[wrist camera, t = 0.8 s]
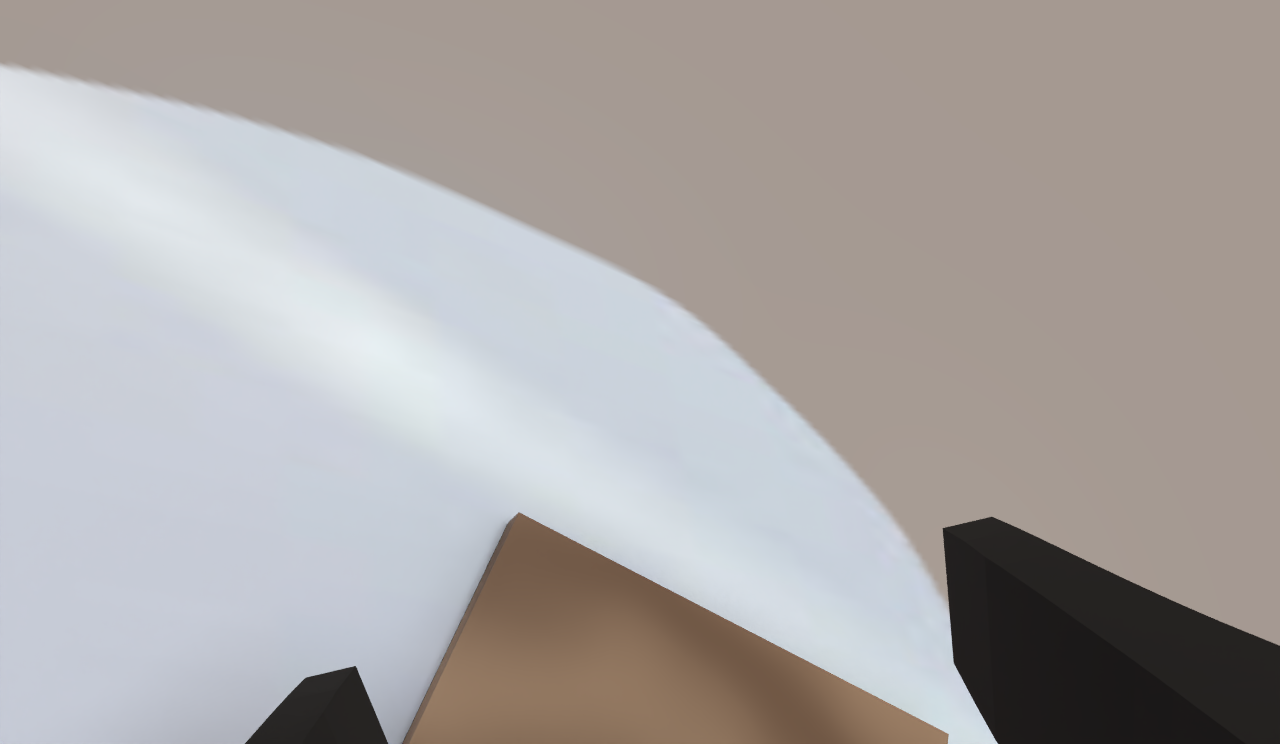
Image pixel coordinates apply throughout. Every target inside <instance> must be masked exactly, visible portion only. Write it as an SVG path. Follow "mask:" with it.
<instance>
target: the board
mask: <svg viewBox="0 0 1280 744" xmlns="http://www.w3.org/2000/svg"><path fill="white" fill-rule="evenodd" d="M948 735H949V734H947V733H945V732H943V731H941V730H939V729H937V728H936V727H934V726H932V725H930V724H928V723H926V722H924V721H922V720H920V719H918V718H916V717H914V716H912V715H910V714H908V713H906V712H905V711H903V710H901V709H899V708H897V707H895V706H893V705H891V704H889V703H887V702H885V701H883V700H881V699H879V698H877V697H875V696H874V695H872V694H870V693H868V692H866V691H864V690H862V689H860V688H858V687H856V686H854V685H852V684H850V683H848V682H846V681H844V680H843V679H841V678H839V677H837V676H835V675H833V674H831V673H829V672H827V671H825V670H823V669H821V668H819V667H817V666H815V665H813V664H812V663H810V662H808V661H806V660H804V659H802V658H800V657H798V656H796V655H794V654H792V653H790V652H788V651H786V650H784V649H782V648H781V647H779V646H777V645H775V644H773V643H771V642H769V641H767V640H765V639H763V638H761V637H759V636H757V635H755V634H753V633H751V632H750V631H748V630H746V629H744V628H742V627H740V626H738V625H736V624H734V623H732V622H730V621H728V620H726V619H724V618H722V617H720V616H719V615H717V614H715V613H713V612H711V611H709V610H707V609H705V608H703V607H701V606H699V605H697V604H695V603H693V602H691V601H690V600H688V599H686V598H684V597H682V596H680V595H678V594H676V593H674V592H672V591H670V590H668V589H666V588H664V587H662V586H660V585H659V584H657V583H655V582H653V581H651V580H649V579H647V578H645V577H643V576H641V575H639V574H637V573H635V572H633V571H631V570H629V569H628V568H626V567H624V566H622V565H620V564H618V563H616V562H614V561H612V560H610V559H608V558H606V557H604V556H602V555H600V554H598V553H597V552H595V551H593V550H591V549H589V548H587V547H585V546H583V545H581V544H579V543H577V542H575V541H573V540H571V539H569V538H567V537H566V536H564V535H562V534H560V533H558V532H556V531H554V530H552V529H550V528H548V527H546V526H544V525H542V524H540V523H538V522H536V521H535V520H533V519H531V518H529V517H527V516H525V515H523V514H521V513H518V514H517V515H516V516H515V517H514V518H513V519H512V520H511V521H510V522H509V523H508V524H507V526H506V528H505V531H504V533H503V535H502V537H501V539H500V541H499V543H498V545H497V547H496V549H495V551H494V554H493V556H492V558H491V560H490V562H489V564H488V566H487V568H486V570H485V572H484V574H483V576H482V579H481V581H480V583H479V585H478V587H477V589H476V591H475V593H474V595H473V597H472V599H471V602H470V604H469V606H468V608H467V610H466V612H465V614H464V616H463V618H462V620H461V622H460V624H459V627H458V629H457V631H456V633H455V635H454V637H453V639H452V641H451V643H450V645H449V647H448V650H447V652H446V654H445V656H444V658H443V660H442V662H441V664H440V666H439V668H438V670H437V672H436V675H435V677H434V679H433V681H432V683H431V685H430V687H429V689H428V691H427V693H426V695H425V697H424V700H423V702H422V704H421V706H420V708H419V710H418V712H417V714H416V716H415V718H414V720H413V723H412V725H411V727H410V729H409V731H408V733H407V735H406V737H405V739H404V741H403V743H402V744H948Z"/></svg>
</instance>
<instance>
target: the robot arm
mask: <svg viewBox="0 0 1280 744" xmlns="http://www.w3.org/2000/svg"><path fill="white" fill-rule="evenodd" d="M943 537H944V549H945V561H946V574H947V585H948V598H949V610H950V622H951V635H952V647H953V659H954V664H955V666H956V668H957V670H958V672H959V674H960V675H961V677H962V679H963V681H964V683H965V685H966V687H967V689H968V691H969V693H970V694H971V696H972V698H973V700H974V702H975V704H976V706H977V708H978V709H979V711H980V713H981V715H982V716H983V718H984V720H985V722H986V724H987V725H988V727H989V729H990V731H991V733H992V734H993V736H994V738H995V740H996V741H997V743H998V744H1280V646H1278V645H1276V644H1274V643H1271V642H1269V641H1266V640H1264V639H1262V638H1259V637H1257V636H1254V635H1252V634H1249V633H1247V632H1244V631H1242V630H1239V629H1237V628H1235V627H1232V626H1230V625H1227V624H1225V623H1222V622H1220V621H1218V620H1215V619H1213V618H1211V617H1208V616H1206V615H1204V614H1201V613H1199V612H1197V611H1195V610H1192V609H1190V608H1188V607H1185V606H1183V605H1181V604H1179V603H1176V602H1174V601H1171V600H1169V599H1167V598H1165V597H1163V596H1161V595H1158V594H1156V593H1154V592H1152V591H1150V590H1147V589H1145V588H1143V587H1141V586H1139V585H1137V584H1134V583H1132V582H1130V581H1128V580H1126V579H1124V578H1122V577H1119V576H1117V575H1115V574H1113V573H1111V572H1109V571H1107V570H1105V569H1102V568H1100V567H1098V566H1096V565H1094V564H1092V563H1090V562H1088V561H1086V560H1084V559H1082V558H1079V557H1077V556H1075V555H1073V554H1071V553H1069V552H1067V551H1065V550H1063V549H1061V548H1059V547H1057V546H1054V545H1052V544H1050V543H1048V542H1046V541H1044V540H1042V539H1040V538H1038V537H1036V536H1034V535H1031V534H1029V533H1027V532H1025V531H1023V530H1021V529H1019V528H1017V527H1014V526H1012V525H1010V524H1007V523H1005V522H1003V521H1001V520H998V519H996V518H994V517H989V518H985V519H980V520H976V521H972V522H968V523H963V524H959V525H955V526H951V527H946V528H943ZM245 744H388V742H387V740H386V737H385V735H384V733H383V730H382V728H381V726H380V723H379V721H378V718H377V716H376V714H375V711H374V709H373V706H372V704H371V702H370V699H369V697H368V694H367V692H366V690H365V687H364V685H363V682H362V680H361V678H360V675H359V673H358V670H357V668H356V666H354V667H350V668H345V669H341V670H337V671H333V672H328V673H324V674H320V675H316V676H311V677H307V678H305V679H304V680H303V681H302V682H301V683H300V684H299V685H298V686H297V687H296V688H295V689H294V690H293V691H292V692H291V693H290V694H289V695H288V696H287V697H286V698H285V700H284V701H283V702H282V703H281V704H280V705H279V706H278V707H277V708H276V709H275V711H274V712H273V713H272V714H271V715H270V716H269V717H268V718H267V719H266V721H265V722H264V723H263V724H262V725H261V726H260V727H259V728H258V730H257V731H256V732H255V733H254V734H253V735H252V736H251V737H250V739H249V740H248V741H247V742H246V743H245Z"/></svg>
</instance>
